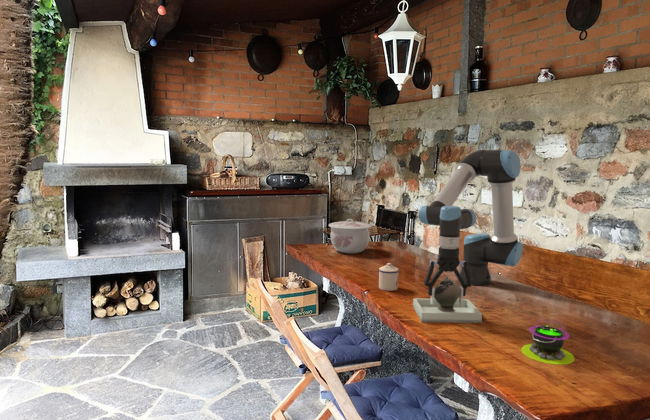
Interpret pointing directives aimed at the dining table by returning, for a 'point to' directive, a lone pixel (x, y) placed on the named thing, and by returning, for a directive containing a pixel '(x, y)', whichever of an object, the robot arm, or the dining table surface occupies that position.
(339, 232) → the chamber pot
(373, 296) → the dining table surface
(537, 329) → the toy cauldron
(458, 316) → the serving tray
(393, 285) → the teacup with lid
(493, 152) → the robot arm
